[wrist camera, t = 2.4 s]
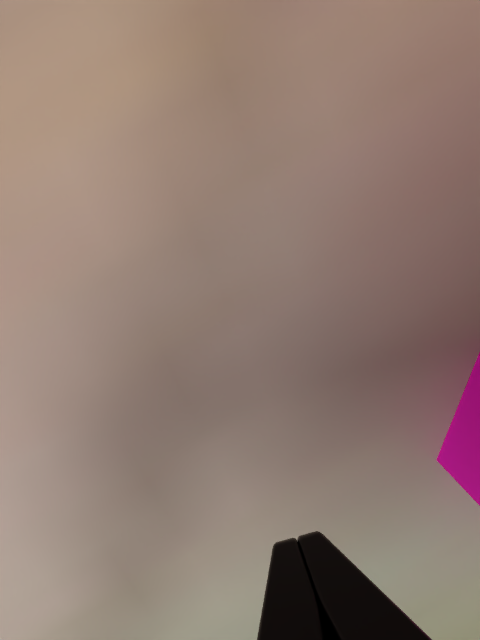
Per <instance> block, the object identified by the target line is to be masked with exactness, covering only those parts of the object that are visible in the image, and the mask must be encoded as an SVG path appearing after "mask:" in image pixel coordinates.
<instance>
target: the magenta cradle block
mask: <svg viewBox="0 0 480 640" xmlns="http://www.w3.org/2000/svg"><path fill="white" fill-rule="evenodd" d="M437 461H438V462H439V463H440V464H441V465H442V466H443V467H444V469H445V470H446V471H447V472H448V473H449V474H450V475H451V476H452V477H453V478H454V479H455V480H456V481H457V482H458V483H459V484H460V485H461V486H462V487H463V489H464V490H465V491H466V492H467V493H468V494H469V495H470V496H471V497H472V498H473V499H474V500H475V501H476V502H477V503H478V504H479V505H480V352H479V355H478V357H477V360H476V362H475V365H474V367H473V370H472V372H471V375H470V377H469V380H468V382H467V385H466V387H465V390H464V392H463V395H462V397H461V400H460V402H459V405H458V407H457V410H456V412H455V415H454V417H453V420H452V422H451V425H450V427H449V430H448V432H447V435H446V437H445V440H444V442H443V445H442V447H441V450H440V452H439V455H438V457H437Z"/></svg>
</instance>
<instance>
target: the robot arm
mask: <svg viewBox="0 0 480 640" xmlns="http://www.w3.org/2000/svg"><path fill="white" fill-rule="evenodd" d="M297 541H298V542H297ZM257 640H432V639H431V638H430V637H429V636H428V635H427V634H426V633H424V632H423V631H422V630H421V629H420V628H419V627H418V626H417V625H416V624H415V623H414V622H413V621H412V620H411V619H410V618H409V617H408V616H407V615H406V614H405V613H404V612H403V611H402V610H401V609H400V608H399V607H398V606H397V605H395V604H394V603H393V602H392V601H391V600H390V599H389V598H388V597H387V596H386V595H385V594H384V593H383V592H382V591H381V590H380V589H379V588H378V587H377V586H376V585H375V584H374V583H373V582H372V581H371V580H370V579H369V578H368V577H366V576H365V575H364V574H363V573H362V572H361V571H360V570H359V569H358V568H357V567H356V566H355V565H354V564H353V563H352V562H351V561H350V560H349V559H348V558H347V557H346V556H345V555H344V554H343V553H342V552H341V551H340V550H339V549H337V548H336V547H335V546H334V545H333V544H332V543H331V542H330V541H329V540H328V539H327V538H326V537H325V536H324V535H323V534H322V533H320V532H318V531H315V532H312V533H308V534H305V535H301V536H299V537H298V540H296V539H295V538H290V539H287V540H283V541H280V542H276V543H275V544H274V546H273V549H272V555H271V561H270V567H269V573H268V579H267V585H266V591H265V596H264V602H263V608H262V614H261V620H260V626H259V632H258V637H257Z"/></svg>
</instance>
